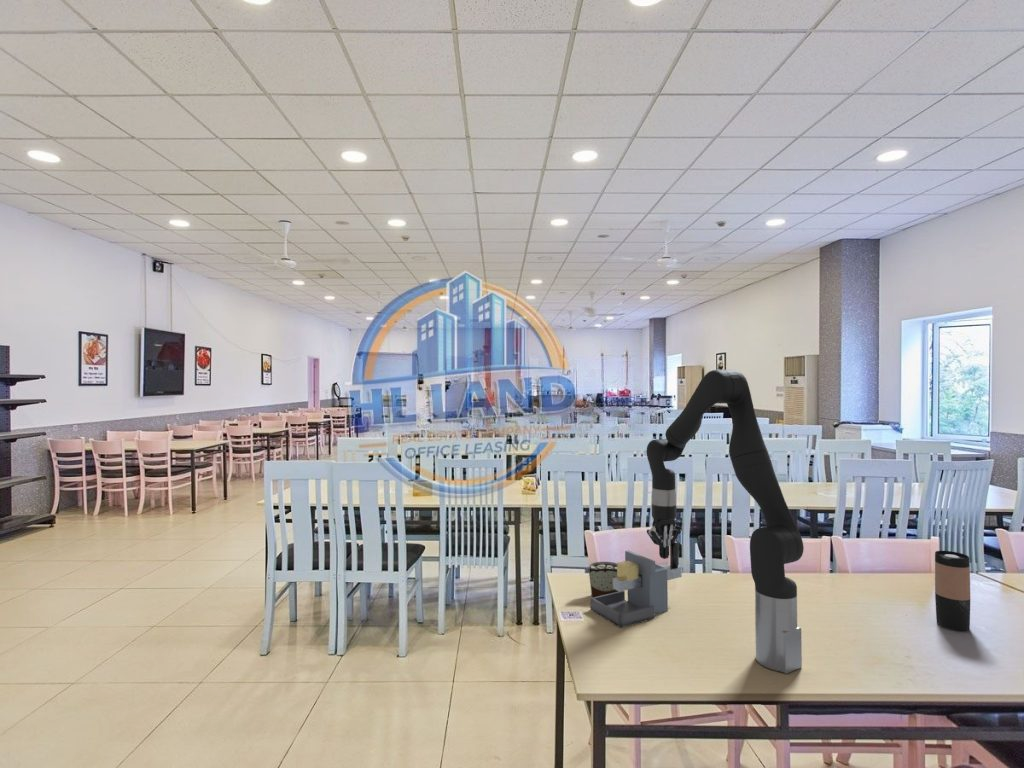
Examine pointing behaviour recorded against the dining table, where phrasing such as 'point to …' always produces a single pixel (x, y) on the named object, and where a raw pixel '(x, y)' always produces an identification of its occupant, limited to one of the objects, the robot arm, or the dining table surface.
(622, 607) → the tray
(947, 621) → the travel mug
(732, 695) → the dining table surface
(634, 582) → the grey lever black handle
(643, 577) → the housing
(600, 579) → the food container
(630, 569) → the block
